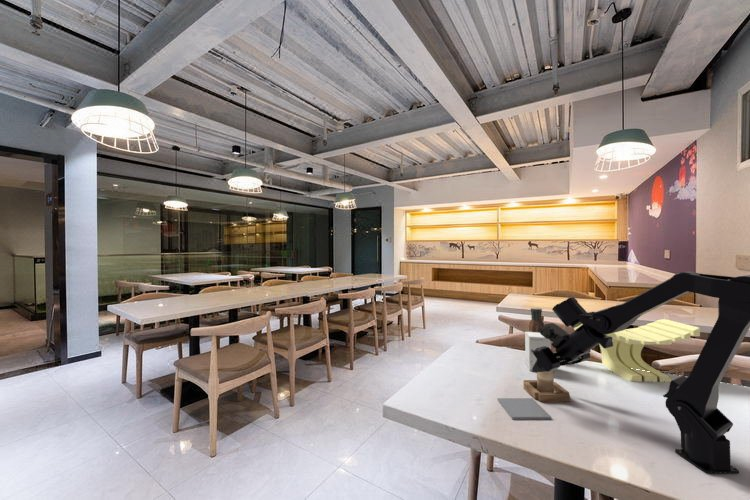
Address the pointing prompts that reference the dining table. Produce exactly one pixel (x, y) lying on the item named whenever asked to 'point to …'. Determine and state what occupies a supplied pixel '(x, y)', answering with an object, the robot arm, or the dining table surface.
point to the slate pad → (523, 408)
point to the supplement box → (534, 346)
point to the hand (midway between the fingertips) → (543, 367)
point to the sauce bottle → (536, 320)
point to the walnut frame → (556, 396)
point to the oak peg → (545, 382)
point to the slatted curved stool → (632, 342)
